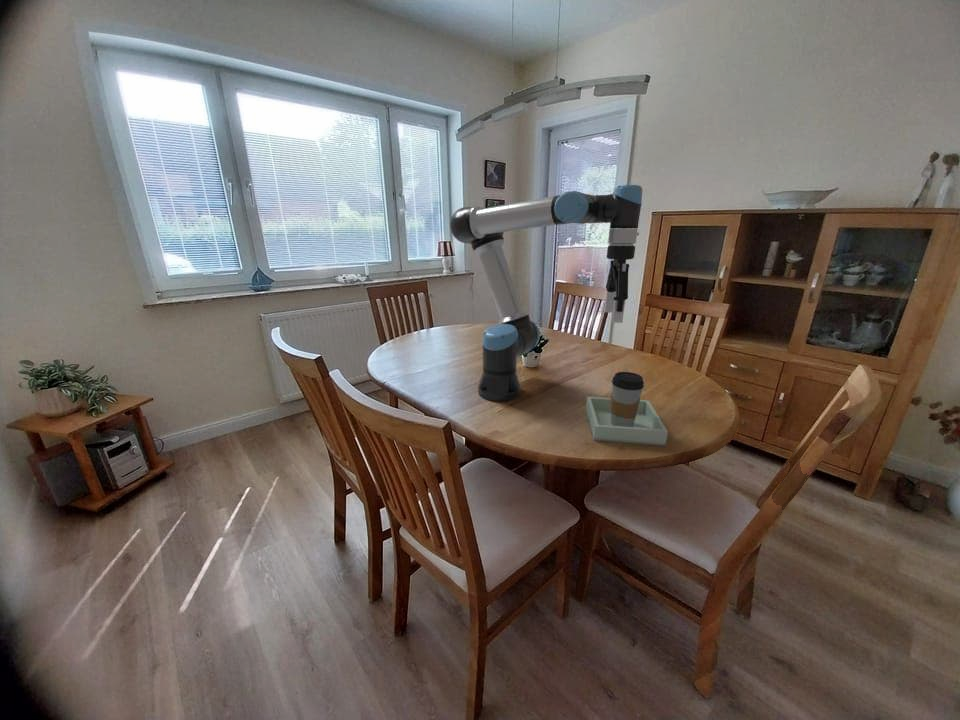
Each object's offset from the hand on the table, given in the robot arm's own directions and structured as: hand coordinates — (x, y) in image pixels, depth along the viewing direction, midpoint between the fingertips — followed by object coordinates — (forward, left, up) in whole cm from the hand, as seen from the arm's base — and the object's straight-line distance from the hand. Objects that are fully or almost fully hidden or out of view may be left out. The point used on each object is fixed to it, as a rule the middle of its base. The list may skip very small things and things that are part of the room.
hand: (612, 317), depth 111 cm
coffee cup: (+3, -16, -28) cm, 33 cm away
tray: (+3, -16, -29) cm, 33 cm away
